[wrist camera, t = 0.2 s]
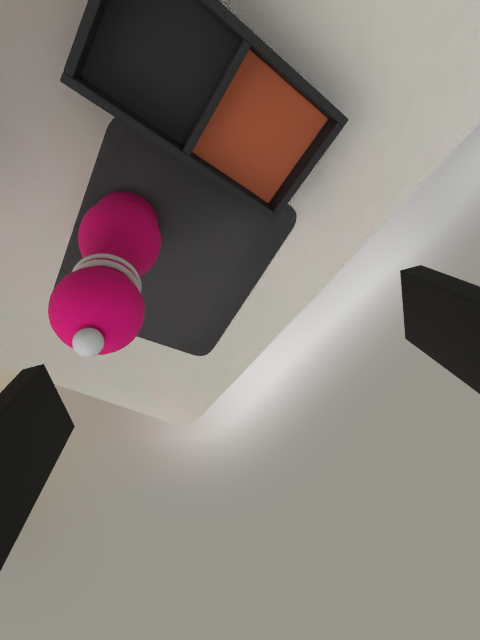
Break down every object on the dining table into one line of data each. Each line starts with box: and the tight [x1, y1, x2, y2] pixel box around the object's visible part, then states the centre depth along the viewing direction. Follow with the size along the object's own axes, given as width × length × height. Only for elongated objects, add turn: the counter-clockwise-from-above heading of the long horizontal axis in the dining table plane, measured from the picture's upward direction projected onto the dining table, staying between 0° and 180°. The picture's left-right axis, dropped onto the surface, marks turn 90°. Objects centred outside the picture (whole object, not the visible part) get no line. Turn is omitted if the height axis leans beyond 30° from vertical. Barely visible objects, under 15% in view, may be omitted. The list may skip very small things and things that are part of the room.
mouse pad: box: [53, 117, 296, 356], centre depth 40 cm, size 23×20×1 cm
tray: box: [60, 0, 348, 221], centre depth 30 cm, size 11×21×3 cm, turn 55°
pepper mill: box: [48, 191, 161, 357], centre depth 29 cm, size 7×7×20 cm
